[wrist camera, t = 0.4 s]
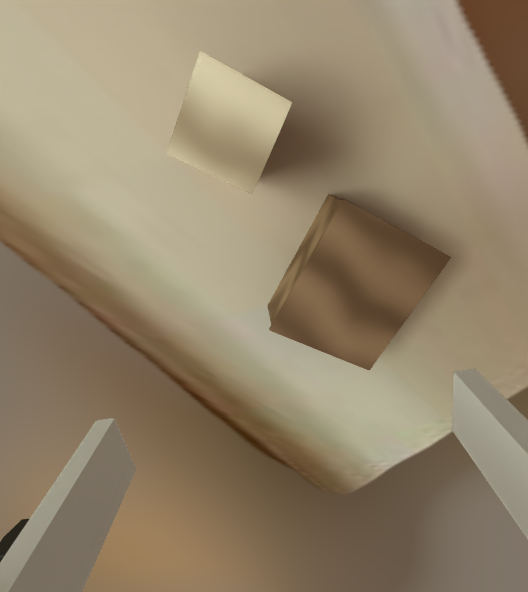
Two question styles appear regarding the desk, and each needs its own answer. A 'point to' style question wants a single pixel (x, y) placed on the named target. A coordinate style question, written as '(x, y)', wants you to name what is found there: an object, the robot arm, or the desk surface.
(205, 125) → the oak block
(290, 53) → the desk surface
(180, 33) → the desk surface
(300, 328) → the walnut box
